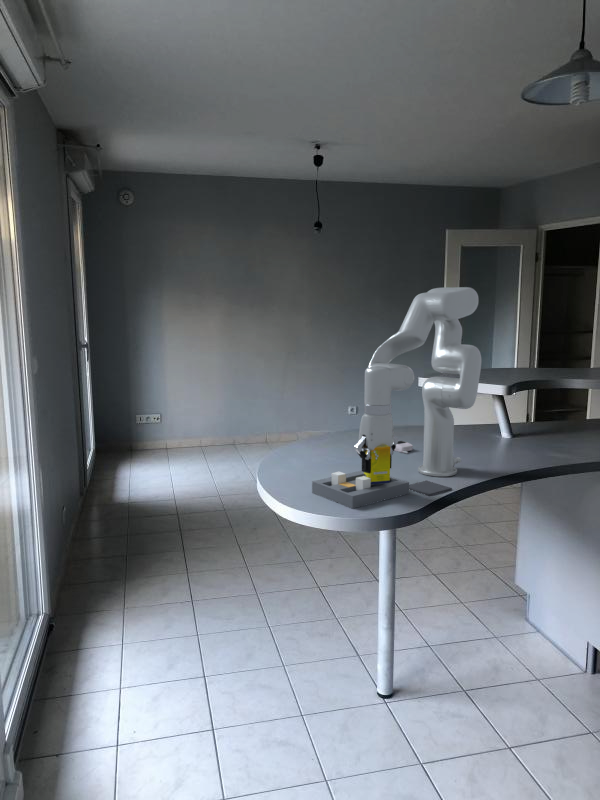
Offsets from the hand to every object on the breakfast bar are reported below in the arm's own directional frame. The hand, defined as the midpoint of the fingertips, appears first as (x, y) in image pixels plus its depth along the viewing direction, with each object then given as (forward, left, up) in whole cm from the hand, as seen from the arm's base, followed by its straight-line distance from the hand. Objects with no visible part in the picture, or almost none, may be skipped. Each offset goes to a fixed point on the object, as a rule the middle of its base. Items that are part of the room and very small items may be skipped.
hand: (376, 469), depth 182 cm
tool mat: (-16, +5, -8) cm, 19 cm away
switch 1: (+8, -8, -5) cm, 12 cm away
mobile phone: (-47, -42, -8) cm, 63 cm away
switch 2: (+5, 0, -5) cm, 7 cm away
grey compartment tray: (+3, -4, -8) cm, 9 cm away
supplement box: (0, 0, -4) cm, 4 cm away
